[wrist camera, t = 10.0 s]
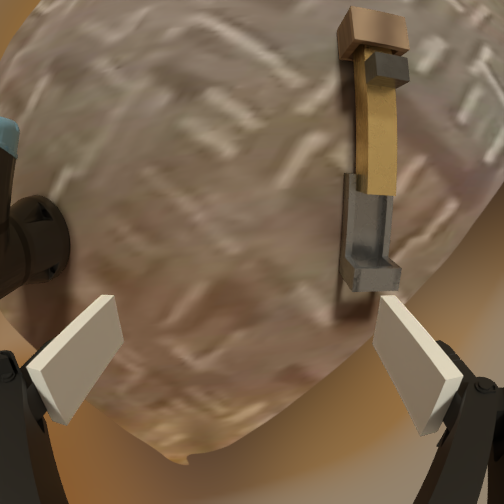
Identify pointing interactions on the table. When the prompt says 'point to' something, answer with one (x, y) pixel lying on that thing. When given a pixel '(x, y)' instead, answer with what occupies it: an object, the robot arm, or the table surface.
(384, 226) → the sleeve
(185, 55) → the table surface
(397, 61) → the tan wooden bar
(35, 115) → the table surface
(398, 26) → the socket
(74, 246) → the table surface
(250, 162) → the table surface
